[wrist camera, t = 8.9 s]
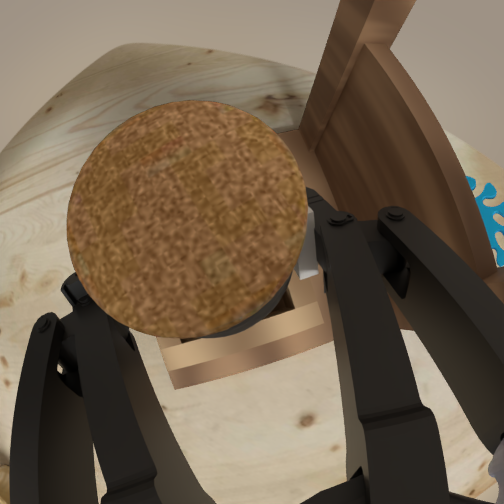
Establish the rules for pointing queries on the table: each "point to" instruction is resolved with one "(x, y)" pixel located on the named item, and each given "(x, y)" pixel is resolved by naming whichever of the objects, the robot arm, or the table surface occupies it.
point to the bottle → (188, 221)
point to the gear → (490, 216)
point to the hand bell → (4, 485)
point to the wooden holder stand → (354, 186)
